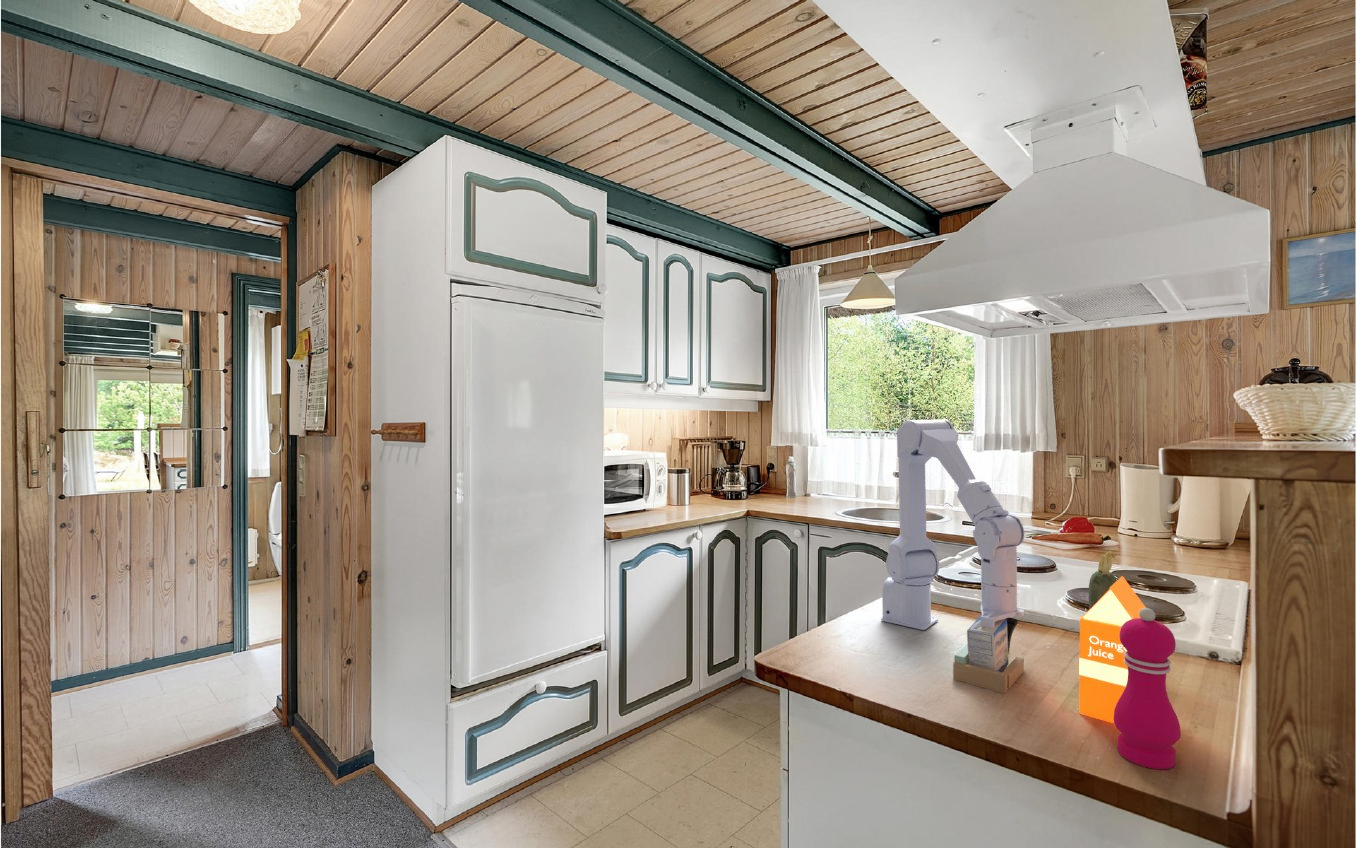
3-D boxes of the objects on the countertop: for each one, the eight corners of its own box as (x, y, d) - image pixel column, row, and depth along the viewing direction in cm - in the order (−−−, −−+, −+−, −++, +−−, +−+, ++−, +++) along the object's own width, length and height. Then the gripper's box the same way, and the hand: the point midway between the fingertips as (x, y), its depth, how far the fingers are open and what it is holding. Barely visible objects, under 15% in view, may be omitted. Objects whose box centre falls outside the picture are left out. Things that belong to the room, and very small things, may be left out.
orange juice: (1078, 713, 97) (1078, 583, 96) (1093, 694, 103) (1093, 571, 103) (1140, 731, 91) (1142, 593, 91) (1152, 710, 98) (1154, 580, 97)
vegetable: (1089, 660, 116) (1090, 551, 115) (1087, 652, 120) (1087, 546, 119) (1118, 665, 114) (1119, 553, 113) (1115, 656, 118) (1116, 548, 117)
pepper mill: (1192, 775, 81) (1194, 618, 80) (1128, 769, 82) (1130, 616, 82) (1161, 744, 88) (1163, 601, 87) (1103, 740, 89) (1104, 598, 89)
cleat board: (953, 679, 109) (953, 656, 109) (990, 644, 125) (990, 623, 125) (1005, 693, 104) (1005, 669, 104) (1037, 654, 119) (1037, 633, 119)
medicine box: (995, 684, 107) (994, 634, 106) (968, 677, 110) (966, 628, 109) (1009, 665, 113) (1007, 618, 112) (982, 658, 116) (980, 612, 115)
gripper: (1012, 596, 107) (1012, 677, 107) (1033, 577, 117) (1034, 650, 118) (967, 589, 111) (968, 666, 112) (992, 571, 122) (993, 642, 122)
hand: (999, 657), depth 115 cm, fingers closed, pressing on medicine box
